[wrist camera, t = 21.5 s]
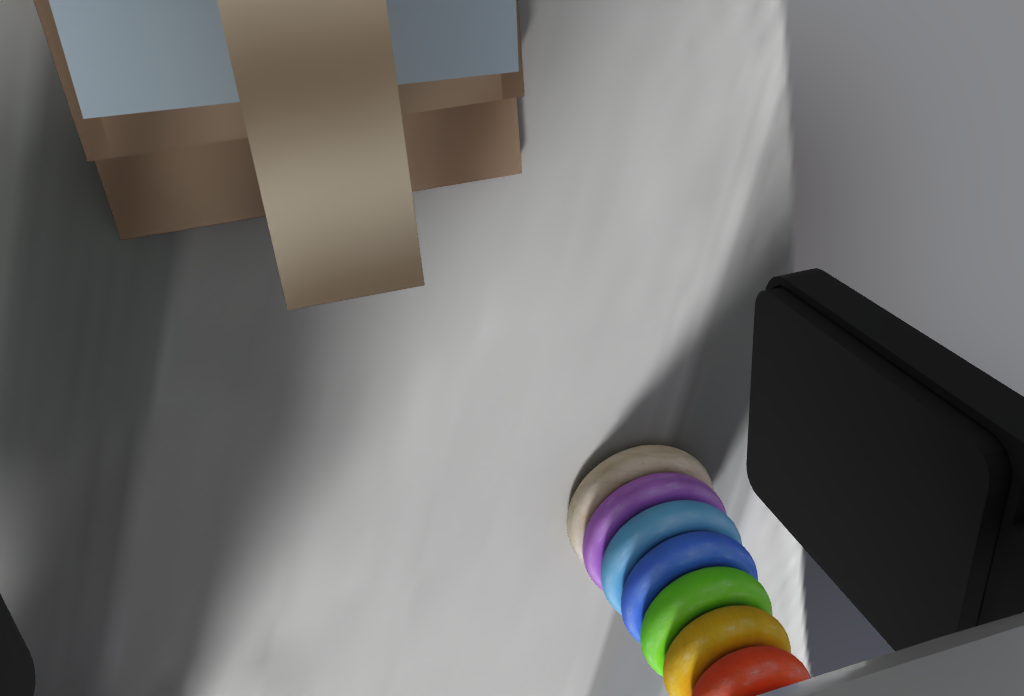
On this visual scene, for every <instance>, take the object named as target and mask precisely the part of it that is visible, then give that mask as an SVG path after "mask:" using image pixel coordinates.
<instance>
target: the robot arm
mask: <svg viewBox="0 0 1024 696" xmlns="http://www.w3.org/2000/svg"><path fill="white" fill-rule="evenodd" d="M747 474H748V478H749V481H750V484H751V486H752V488H753V490H754V492H755V493H756V494H757V496H758V497H759V498H760V499H761V500H762V501H763V503H764V504H765V505H766V506H767V507H768V508H769V509H770V510H771V512H772V513H773V514H774V515H775V516H776V517H777V518H778V519H779V521H780V522H781V523H782V524H783V525H784V526H785V527H786V529H787V530H788V531H789V532H790V533H791V534H792V535H793V536H794V538H795V539H796V540H797V541H798V542H799V543H800V544H801V545H802V547H803V548H804V549H805V550H806V551H807V552H808V553H809V554H810V556H811V557H812V558H813V559H814V560H815V561H816V562H817V564H818V565H819V566H820V567H821V568H822V569H823V570H824V571H825V572H826V573H827V575H828V576H829V577H830V578H831V579H832V580H833V582H834V583H835V584H836V585H837V586H838V587H839V588H840V590H841V591H842V592H843V593H844V594H845V595H846V596H847V597H848V598H849V600H850V601H851V602H852V603H853V604H854V605H855V606H856V608H857V609H858V610H859V611H860V612H861V613H862V614H863V615H864V617H865V618H866V619H867V620H868V621H869V622H870V623H871V625H872V626H873V627H874V628H875V629H876V630H877V631H878V632H879V633H880V635H881V636H882V637H883V638H884V639H885V640H886V641H887V643H888V644H889V645H890V646H891V647H892V648H893V649H894V650H895V652H892V653H889V654H886V655H883V656H880V657H877V658H873V659H870V660H867V661H864V662H861V663H858V664H855V665H851V666H848V667H845V668H842V669H839V670H835V671H833V672H829V673H826V674H823V675H820V676H817V677H813V678H810V679H807V680H804V681H801V682H798V683H794V684H791V685H788V686H785V687H782V688H779V689H776V690H772V691H769V692H766V693H763V694H760V695H757V696H1024V397H1023V396H1021V395H1020V394H1018V393H1017V392H1015V391H1013V390H1012V389H1010V388H1009V387H1007V386H1006V385H1004V384H1002V383H1001V382H999V381H997V380H996V379H994V378H993V377H991V376H990V375H988V374H986V373H985V372H983V371H982V370H980V369H979V368H977V367H975V366H974V365H972V364H970V363H969V362H967V361H966V360H964V359H963V358H961V357H959V356H958V355H956V354H955V353H953V352H952V351H950V350H948V349H947V348H945V347H944V346H942V345H940V344H939V343H937V342H936V341H934V340H932V339H931V338H929V337H928V336H926V335H925V334H923V333H921V332H920V331H918V330H917V329H915V328H913V327H912V326H910V325H909V324H907V323H905V322H904V321H902V320H901V319H899V318H898V317H896V316H894V315H893V314H891V313H890V312H888V311H886V310H885V309H883V308H882V307H880V306H878V305H877V304H875V303H874V302H872V301H871V300H869V299H867V298H866V297H864V296H863V295H861V294H859V293H858V292H856V291H855V290H853V289H851V288H850V287H848V286H847V285H845V284H844V283H842V282H840V281H839V280H837V279H836V278H834V277H832V276H831V275H829V274H828V273H826V272H824V271H823V270H820V269H817V268H816V269H810V270H805V271H801V272H796V273H791V274H786V275H782V276H777V277H773V278H772V279H771V280H770V281H769V282H768V285H767V287H766V291H761V292H760V293H759V294H758V296H757V298H756V303H755V315H754V334H753V352H752V371H751V390H750V408H749V427H748V446H747ZM34 689H35V669H34V664H33V660H32V657H31V654H30V652H29V650H28V648H27V646H26V644H25V642H24V640H23V638H22V636H21V634H20V632H19V630H18V628H17V626H16V624H15V622H14V620H13V618H12V616H11V614H10V612H9V610H8V608H7V606H6V604H5V602H4V600H3V598H2V596H1V594H0V696H33V694H34Z"/></svg>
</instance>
